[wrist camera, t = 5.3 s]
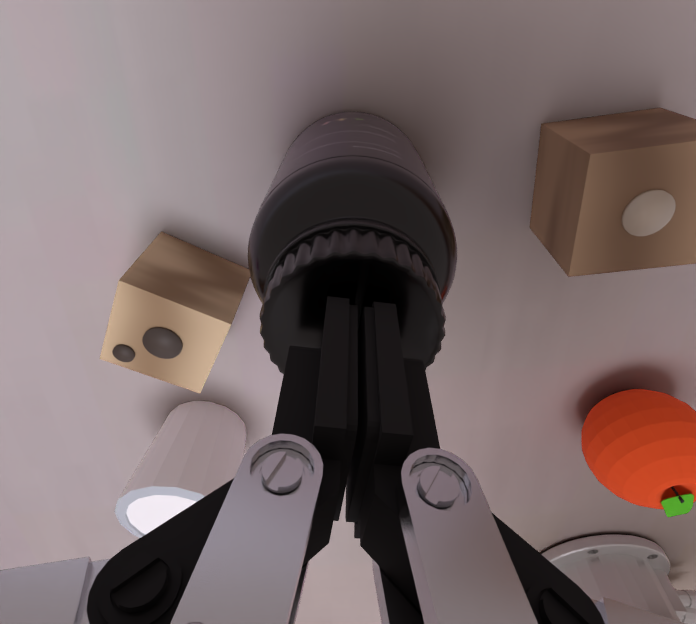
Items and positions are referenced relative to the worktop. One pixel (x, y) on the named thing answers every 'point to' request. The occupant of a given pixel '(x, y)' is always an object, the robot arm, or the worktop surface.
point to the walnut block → (617, 191)
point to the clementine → (644, 449)
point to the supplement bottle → (352, 237)
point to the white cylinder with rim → (182, 465)
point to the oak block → (173, 312)
